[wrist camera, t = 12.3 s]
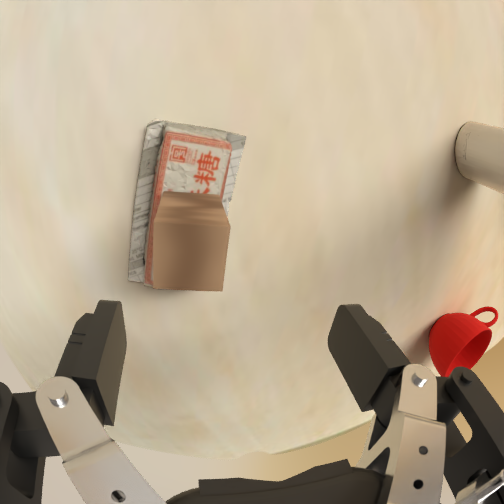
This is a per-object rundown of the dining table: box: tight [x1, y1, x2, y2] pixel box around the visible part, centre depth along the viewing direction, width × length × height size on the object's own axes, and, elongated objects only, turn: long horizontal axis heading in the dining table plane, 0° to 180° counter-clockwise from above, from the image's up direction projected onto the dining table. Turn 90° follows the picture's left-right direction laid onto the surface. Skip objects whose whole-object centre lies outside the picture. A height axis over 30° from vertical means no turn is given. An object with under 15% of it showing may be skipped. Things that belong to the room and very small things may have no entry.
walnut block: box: [153, 191, 230, 291], centre depth 23 cm, size 5×5×8 cm
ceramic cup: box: [429, 307, 498, 377], centre depth 45 cm, size 13×17×10 cm
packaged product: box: [128, 119, 246, 290], centre depth 29 cm, size 18×5×10 cm
